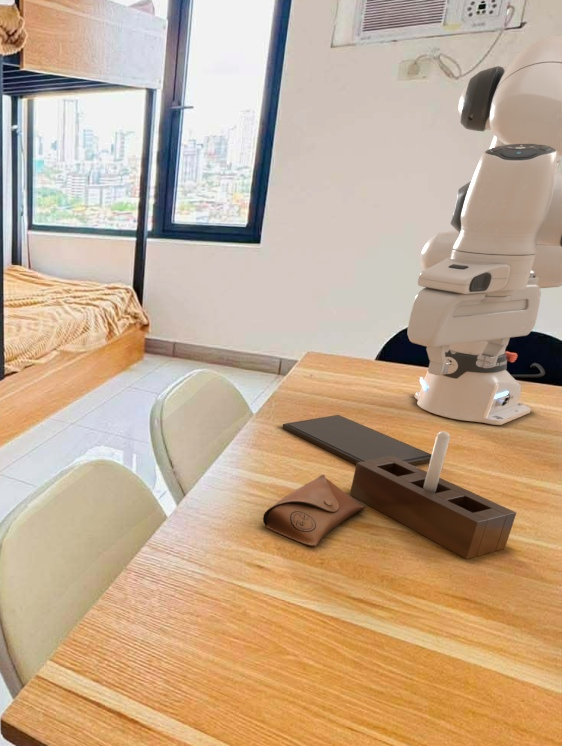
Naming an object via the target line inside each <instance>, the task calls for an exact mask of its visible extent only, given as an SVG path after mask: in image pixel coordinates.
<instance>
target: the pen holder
mask: <svg viewBox="0 0 562 746" xmlns="http://www.w3.org/2000/svg"><path fill="white" fill-rule="evenodd" d="M426 475H427V470H424V469H422V468H419V467H417V466H416V465H414V466H413V465H411V464H409V463H406V462H404V461H402V460H400V459H398V458H395V457H393V456H390V457H384V458H379V459H374V460H369V461H364V462H359V463H357V464H356V465H355V468H354V473H353V479H352V481H351V482H352V483H351V486H350V492H349V496H350V497H352V498H354V499H356V500H358V501H360V502H361V503H364V504H366V505H368V506H369V507H371V508H373V509H375V510H376V511H378V512H380V513H382V514H384V515H385V516H387V517H389V518H391V519H393V520H394V521H397V522H399V523H400V524H402V525H404V526H405V527H407V528H409V529H411V530H412V531H414V532H416V533H418V534H420V535H422V536H423V537H425V538H427V539H429V540H431V541H432V542H434V543H436V544H438V545H439V546H442V547H443V548H445V549H446V550H449V551H450V552H452V553H454V554H456V555H457V556H460V557H462V558H463V559H465V560H468V559H472V558H475V557H479V556H482V555H483V556H484V555H486V554H489V553H494V552H497V551H501V550H504V549H506V547H507V544H508V540H509V537H510V534H511V531H512V528H513V525H514V522H515V519H516V516H517V511H514V510H512V509H510V508H508V507H505V506H503V505H501V504H499V503H496V502H495V501H492V500H491V499H488V498H485V497H483V496H481V495H479V494H478V493H474V492H472V491H471V490H469V489H466V488H463V487H462V486H459V485H457V484H455V483H453V482H450V481H448V480H446V479H444V478H441V477H439V481H438V484H437V488H436V492H435V494H433V493H431V492H429V491H426V490H424V489H423V487H424V483H425V479H426Z"/></svg>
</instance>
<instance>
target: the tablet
mask: <svg viewBox="0 0 562 746" xmlns="http://www.w3.org/2000/svg"><path fill="white" fill-rule="evenodd" d="M281 428H282V429H284V430H285V431H287V432H289V433H290V434H293V435H295V436H297V437H300V438H301V439H303V440H305V441H307V442H309V443H311V444H313V445H315V446H317V447H320V448H321V449H324V450H325V451H327V452H329V453H331V454H333V455H335V456H337V457H340V458H342V459H344V460H346V461H347V462H350V463H352V464H353V465H355V466H356V464H357V463H359V462H364V461H369V460H374V459H379V458H384V457H390V456H393V457H395V458H398V459H400V460H402V461H404V462H406V463H409V464H411V465H413V466H419V465H423V464H428V463H429V464H430V460H431V456H432V453H429V452H427V451H424V450H422V449H420V448H417V447H415V446H413V445H410V444H408V443H406V442H404V441H401V440H399V439H396V438H395V437H392V436H389V435H387V434H385V433H382V432H380V431H378V430H375V429H374V428H371V427H368V426H366V425H363V424H361V423H358V422H357V421H355V420H352V419H350V418H346V417H344V416H342V415H340V414H334V415H328V416H322V417H316V418H311V419H305V420H298V421H292V422H287V423H282V426H281Z"/></svg>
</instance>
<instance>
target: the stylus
mask: <svg viewBox="0 0 562 746" xmlns="http://www.w3.org/2000/svg"><path fill="white" fill-rule="evenodd" d="M450 439H451V435H450V433H449V432H448V431H443V430H442V431H439V432H438V433H437V434H436V437H435V442H434V445H433V449H432V452H431V454H432V456H431V460H430V462H429V464H428V469H427V470H426V472H427V475H426V479H425V483H424V487H423V489H424V490H426V491H429V492H431V493H433V494H435V492H436V488H437V484H438V481H439V478H441V473H442V468H443V466H444V462H445V458H446V454H447V451H448V447H449V443H450Z"/></svg>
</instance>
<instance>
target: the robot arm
mask: <svg viewBox="0 0 562 746" xmlns="http://www.w3.org/2000/svg"><path fill="white" fill-rule="evenodd" d="M457 109H458V115H459V119H460V124H461V125H462V126H463V127H464V128H465V129H466V130H469V131H476V132H485V131H486V130H487V131H491V133H492V134H493V137H492V139H491V142H490V145H489V148H488V149H487V150H485V151H484V152H483V153H482V154H481V156H480V158H479V160H478V162H477V165H476V167H475V170H474V172H473V175H472V178H471V180H469V181H468V182H467V183H466V184H464V185H462V186H461V187H459V189H457V190H458V191H457V195H456V201H455V206H454V209H453V214H452V218H451V221H450V225H451V226H452V227H453V228H454V229H455V230H447V231H440V232H439V231H438V232H437V233H434V235H432V236H431V237H430V238H428V240H427V241H426V242H425V244H424V245H423V247H422V248H421V249H422V250H421V252H420V255H419V263H420V268H421V270H422V271H421V272H420V273H419V275H418V278H417V279H418V280H417V285H418V286H419V287H422V288H421V289H420V290H419V291H418V293H417V294H416V296H415V298H414V299H413V303H412V307H411V310H410V315H409V320H408V325H407V337H408V339H409V342H411V343H412V344H416V345H420V346H423V347H426V348H425V350H426V353H427V357H428V360H429V364H428V369H427V371H426V374H425V376H424V378H423V376H420V377H419V383H420V385H421V387H420V391H416V392H415V393H414V396H413V397H414V398H415V400H417V402H416V404H417V406H418V407H419V408H421V409H422V410H424V411H426V412H429V413H431V414H433V415H437V416H440V417H444V418H449V419H452V420H457V421H465V422H477V423H484V424H488V425H494V426H502V425H504V424H506V423H509V422H511V421H514V420H516V419H519V418H521V417H523V416H525V415H528V414H530V413H531V410H532V409H531V407H529V406H528V405H526V404H524V403H522V402H520V398H521V394H522V385H521V384H520V383H519V382H518V381H517V380H516V379H537V378H542V377H544V376H545V374H546V371H545V369H544V367H543V366H542V365H541V364H539V363H536V362H534V363H532V364H531V365H530V368H532V369H534V368H537V369H538V370H539V371H540V373H538V374H537V373H536V374H510V372H509V371H508V370H507V368H508V367H507V366H508V362H510V363H515V362H516V360H517V358H518V353H516V352H510V351H508V350H506V349H507V347H508V345H509V342H510V339H511V338H516V337H517V338H518V337H526V336H528V335H529V334H530V333H531V332H532V331H533V329H534V328H535V325H536V322H537V318H538V313H539V308H540V303H541V294H542V293H541V289H550V288H560V287H561V286H562V171H559V166H560V163H561V160H562V35H550V36H545V37H542V38H539V39H537V40H535V41H533V42H531V43H529V44H528V45H526V46H525V47H523V48H522V49H521V50H520V51H519V52H518V53H517V54H516V55H515V57H514V58H513V59H512V60H511V61H510V63H509V64H508V65H506V66H500V65H497V66H493V67H489V68H486V69H483V70H481V71H478V72H477V73H476V74H474V75H473V76H472V77H471V78H469V80H468V83H467V84H466V86H465V87H464V89H463V90H462V92H461V95H460V97H459V100H458V105H457Z"/></svg>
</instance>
